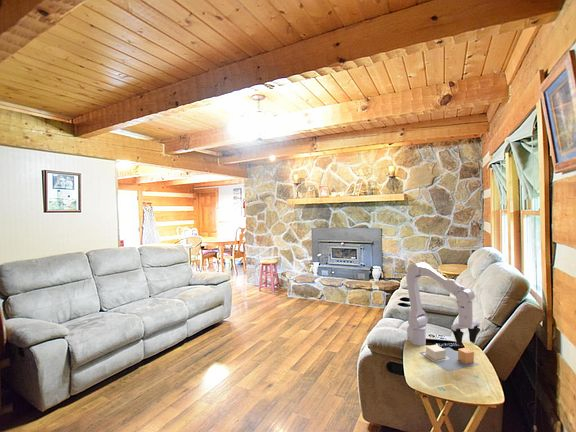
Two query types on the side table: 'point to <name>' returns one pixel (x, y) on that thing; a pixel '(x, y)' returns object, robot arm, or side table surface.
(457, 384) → the side table surface
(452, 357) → the board
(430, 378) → the side table surface
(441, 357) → the base block
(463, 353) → the orange block
